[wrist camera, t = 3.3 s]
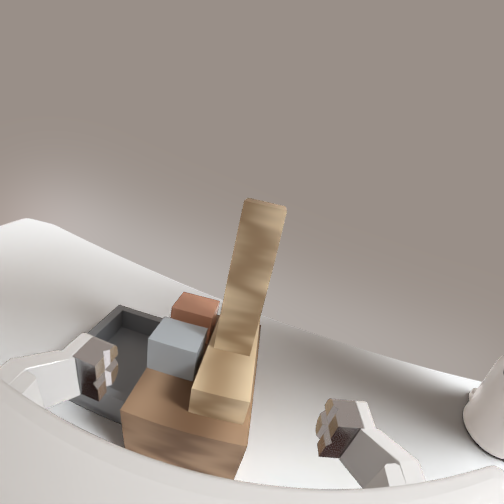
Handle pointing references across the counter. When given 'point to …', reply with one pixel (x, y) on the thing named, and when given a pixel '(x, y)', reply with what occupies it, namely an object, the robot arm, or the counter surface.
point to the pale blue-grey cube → (176, 348)
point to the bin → (122, 357)
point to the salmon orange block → (196, 311)
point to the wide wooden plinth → (182, 426)
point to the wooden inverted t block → (239, 317)
